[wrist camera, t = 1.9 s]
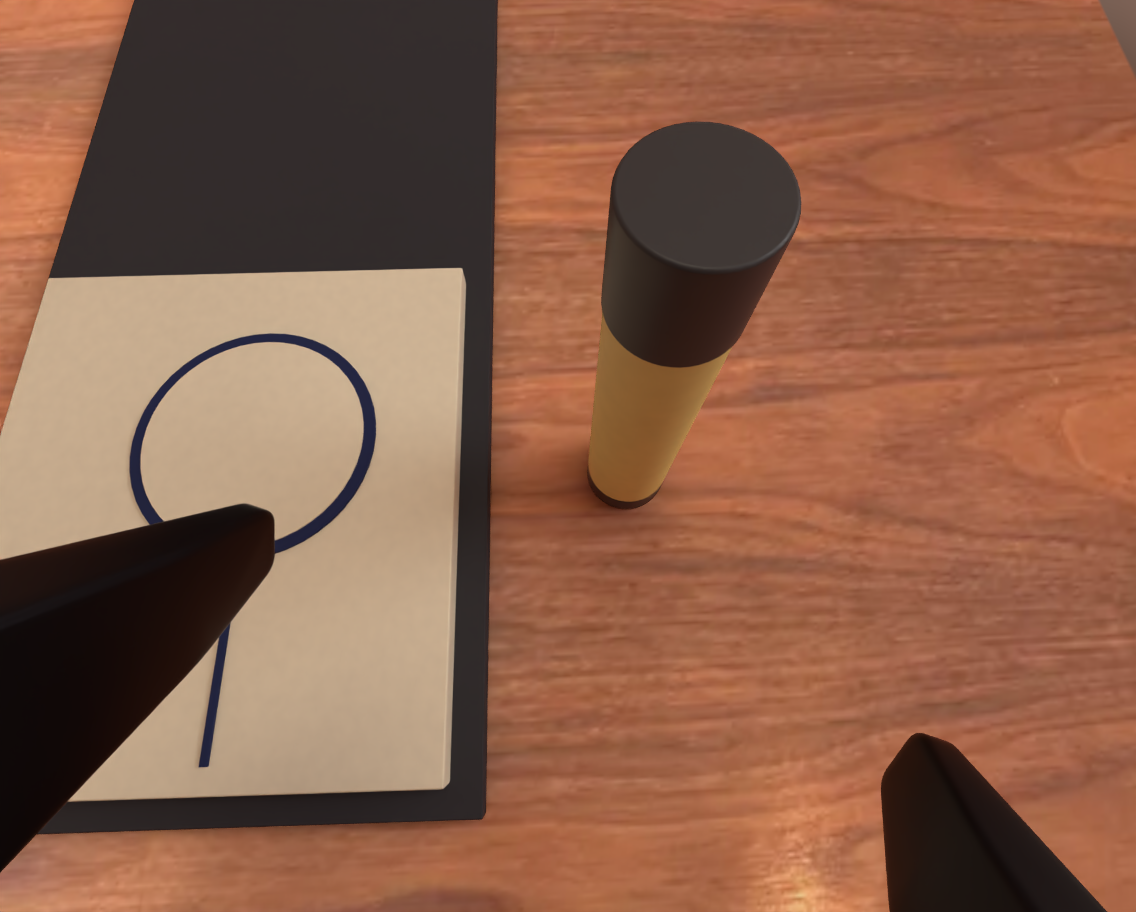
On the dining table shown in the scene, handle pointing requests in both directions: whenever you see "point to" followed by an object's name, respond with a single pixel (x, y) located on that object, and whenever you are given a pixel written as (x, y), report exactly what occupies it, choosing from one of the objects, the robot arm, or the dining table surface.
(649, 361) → the disc
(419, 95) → the long black board
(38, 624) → the robot arm
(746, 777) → the dining table surface
